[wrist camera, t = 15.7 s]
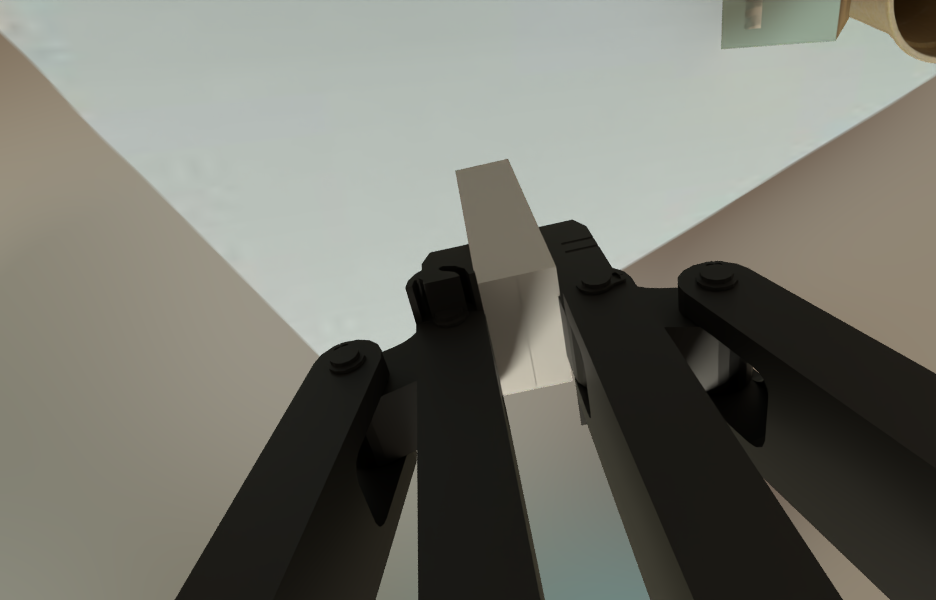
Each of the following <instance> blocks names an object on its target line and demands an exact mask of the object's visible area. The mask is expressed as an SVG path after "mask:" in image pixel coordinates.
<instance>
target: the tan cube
mask: <svg viewBox="0 0 936 600" xmlns="http://www.w3.org/2000/svg"><path fill="white" fill-rule="evenodd" d="M850 4H851V0H723V10H722V40H721V49H730V48H744V47H758V46H772V45H785V44H799V43H813V42H827V41H836V39H837V37H838V36H839V34H840V32H841V31H842V29H843V27H844V26H845V24H846V22H847V20H848V19H849V11H850Z"/></svg>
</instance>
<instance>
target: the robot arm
mask: <svg viewBox="0 0 936 600" xmlns="http://www.w3.org/2000/svg"><path fill="white" fill-rule="evenodd" d="M456 177H457V182H458V188H459V193H460V199H461V204H462V210H463V215H464V221H465V226H466V232H467V237H468V243H469V244H467V245H463V246H458V247H454V248H449V249H445V250H440V251H435V252H431V253H429V255H428V256H427V257H426V259H425V260H424V262H423V263H422V271H420V272H418V273H416V274H415V275H414V276H413V277H412V278H411V279H409V280H408V282H407V285H406V292H407V295H408V298H409V302H410V305H411V308H412V312H413V315H414V318H415V322H416V333H415V334H414V335H413V336H412V337H411V338H409V339H408V340H406V341H405V342H403V343H401V344H399V345H397V346H395V347H393V348H391V349H388V350H386V351H384V352H382V350H381V349H380V347H379V345H378V344H376V343H374V342H372V341H370V340H354V341H349V342H344V343H341V344H338V345H336V346H334V347H332V348H331V349H329V350H328V351H326V352H325V353H323V354H322V355H321V356H320V357H319V358H318V360H317V361H316V362H315V363H314V364H313V366H312V368H311V370H310V371H309V373H308V374H307V376H306V378H305V380H304V381H303V383H302V385H301V387H300V388H299V390H298V391H297V393H296V395H295V397H294V398H293V400H292V402H291V403H290V405H289V407H288V409H287V410H286V412H285V414H284V415H283V417H282V419H281V420H280V422H279V424H278V425H277V427H276V429H275V431H274V432H273V434H272V436H271V437H270V439H269V441H268V443H267V444H266V446H265V448H264V449H263V451H262V453H261V454H260V456H259V458H258V460H257V461H256V463H255V465H254V466H253V468H252V470H251V471H250V473H249V475H248V476H247V478H246V480H245V481H244V483H243V485H242V487H241V488H240V490H239V492H238V493H237V495H236V497H235V498H234V500H233V502H232V504H231V505H230V507H229V509H228V510H227V512H226V514H225V516H224V517H223V519H222V521H221V522H220V524H219V526H218V527H217V529H216V531H215V532H214V534H213V536H212V538H211V539H210V541H209V543H208V545H207V546H206V548H205V549H204V551H203V553H202V554H201V556H200V558H199V560H198V561H197V563H196V565H195V566H194V568H193V570H192V571H191V573H190V575H189V577H188V578H187V580H186V582H185V583H184V585H183V587H182V588H181V590H180V592H179V594H178V596H177V597H176V599H175V600H376V596H377V592H378V590H379V586H380V583H381V579H382V576H383V573H384V569H385V566H386V562H387V559H388V556H389V552H390V549H391V546H392V542H393V539H394V536H395V532H396V529H397V526H398V522H399V519H400V515H401V512H402V509H403V505H404V502H405V499H406V495H407V492H408V488H409V485H410V481H411V478H412V475H413V472H414V468H415V465H416V461H417V470H418V471H417V473H418V474H417V478H418V600H545V598H544V593H543V589H542V583H541V578H540V573H539V569H538V564H537V559H536V554H535V549H534V544H533V539H532V534H531V529H530V524H529V519H528V514H527V509H526V504H525V499H524V495H523V490H522V485H521V480H520V475H519V470H518V465H517V460H516V455H515V450H514V445H513V441H512V435H511V430H510V425H509V421H508V416H507V411H506V407H505V403H504V398H503V396H504V395H509V394H513V393H518V392H523V391H528V390H532V389H537V388H542V387H546V386H551V385H556V384H561V383H566V382H570V381H572V374H571V368H572V371H573V374H574V376H575V383H576V390H577V397H578V404H579V411H580V418H581V425H585V424H587V425H588V428H589V430H590V433H591V436H592V439H593V442H594V444H595V447H596V450H597V453H598V455H599V458H600V461H601V464H602V467H603V469H604V472H605V475H606V478H607V480H608V483H609V486H610V489H611V491H612V494H613V497H614V500H615V503H616V505H617V508H618V511H619V514H620V516H621V519H622V522H623V525H624V528H625V530H626V533H627V536H628V539H629V542H630V544H631V547H632V550H633V553H634V556H635V558H636V561H637V564H638V567H639V569H640V572H641V575H642V578H643V581H644V583H645V586H646V589H647V592H648V594H649V597H650V600H843V599H842V598H841V596H840V595H839V593H838V592H837V590H836V589H835V587H834V585H833V584H832V582H831V581H830V579H829V578H828V577H827V575H826V573H825V572H824V570H823V569H822V567H821V566H820V564H819V563H818V561H817V560H816V558H815V557H814V555H813V553H812V552H811V550H810V549H809V548H808V546H807V544H806V543H805V541H804V540H803V539H802V537H801V535H800V534H799V532H798V531H797V529H796V528H795V526H794V525H793V523H792V522H791V520H790V518H789V517H788V516H787V514H786V513H785V511H784V510H783V508H782V506H781V505H780V503H779V502H778V500H777V499H776V497H775V496H774V494H773V493H772V491H771V490H770V488H769V486H768V485H767V483H766V482H765V480H766V481H767V482H768V483H769V484H770V485H771V486H772V487H773V488H774V489H775V490H776V491H778V493H780V495H782V496H783V497H784V498H785V499H786V500H787V501H788V502H789V503H790V504H791V505H792V506H793V507H794V508H795V509H796V510H797V511H798V512H799V513H800V514H801V515H802V516H803V517H804V518H805V519H807V520H808V521H809V522H810V523H811V524H812V525H813V526H814V527H815V528H816V529H817V530H818V531H819V532H820V533H821V534H822V535H823V536H825V538H826V539H827V540H828V541H830V542H831V543H832V544H833V545H834V546H835V547H836V548H837V549H838V550H839V551H840V552H841V553H842V554H843V555H844V556H845V557H846V558H847V559H848V560H849V561H850V562H851V563H853V565H855V566H856V567H857V568H858V569H859V570H860V571H861V572H862V573H863V574H864V575H865V576H866V577H867V578H868V579H869V580H870V581H871V582H872V583H873V584H874V585H875V586H876V587H878V588H879V589H880V590H881V591H882V592H883V593H884V594H885V595H886V596H887V597H888V598H889V599H890V600H936V374H935V373H934V372H932V371H930V370H928V369H926V368H925V367H923V366H921V365H919V364H917V363H916V362H914V361H912V360H910V359H909V358H907V357H905V356H903V355H902V354H900V353H898V352H896V351H894V350H893V349H891V348H889V347H887V346H886V345H884V344H882V343H880V342H878V341H877V340H875V339H873V338H871V337H869V336H868V335H866V334H864V333H862V332H861V331H859V330H857V329H855V328H854V327H852V326H850V325H848V324H846V323H845V322H843V321H841V320H839V319H838V318H836V317H834V316H832V315H830V314H829V313H827V312H825V311H823V310H822V309H820V308H818V307H816V306H814V305H812V304H811V303H809V302H807V301H806V300H804V299H802V298H800V297H799V296H797V295H795V294H793V293H791V292H790V291H788V290H786V289H784V288H783V287H781V286H779V285H777V284H775V283H774V282H772V281H770V280H768V279H767V278H765V277H763V276H761V275H759V274H757V273H756V272H754V271H752V270H750V269H748V268H746V267H744V266H741V265H739V264H735V263H728V262H723V261H715V262H712V261H711V262H705V263H701V264H697V265H693V266H691V267H690V268H687V269H686V270H684V271H683V272H682V273H681V274H680V275H679V277H678V288H644V287H638V286H637V285H636V284H635V282H634V281H633V279H632V278H631V277H630V276H629V275H628V274H626V273H625V272H624V271H621V270H618V269H615V268H612V267H611V265H610V263H609V262H608V260H607V259H606V257H605V255H604V254H603V252H602V251H601V249H600V247H599V246H598V244H597V243H596V241H595V239H594V238H593V236H592V235H591V233H590V231H589V230H588V228H587V227H586V226H585V225H582V224H580V223H578V222H576V221H574V220H569V221H564V222H560V223H555V224H551V225H546V226H542V227H538V225H537V223H536V221H535V218H534V216H533V214H532V212H531V209H530V207H529V205H528V203H527V201H526V198H525V196H524V194H523V192H522V189H521V187H520V185H519V183H518V180H517V178H516V176H515V174H514V171H513V169H512V167H511V165H510V162H509V160H508V159H505V160H501V161H497V162H492V163H488V164H483V165H479V166H474V167H470V168H466V169H461V170H457V171H456ZM753 367H754V368H755V369H756V370H757V371H758V372H759V373H760V374H759V373H758V372H757V371H755V370H754V369H753ZM416 450H417V451H416ZM763 478H764V479H765V480H764V479H763Z"/></svg>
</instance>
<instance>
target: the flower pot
mask: <svg viewBox="0 0 936 600" xmlns="http://www.w3.org/2000/svg"><path fill="white" fill-rule="evenodd" d="M849 17H851V18H853V19H856V20H858V21H861V22H863V23H865V24H867V25H870V26H872V27H874V28H876V29H879V30H881V31H883V32H886V33H888V34H889V35H890V36H891V37H892V38H893V39H894V41H895V42H896V44H897V45H898V46H899V47H900V49H902V50H903V51H904V52H905V53H906V54H908V55H910V56H912V57H914V58H916V59H918V60H921V61H924V62H930V63H936V0H851V4H850V11H849Z"/></svg>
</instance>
